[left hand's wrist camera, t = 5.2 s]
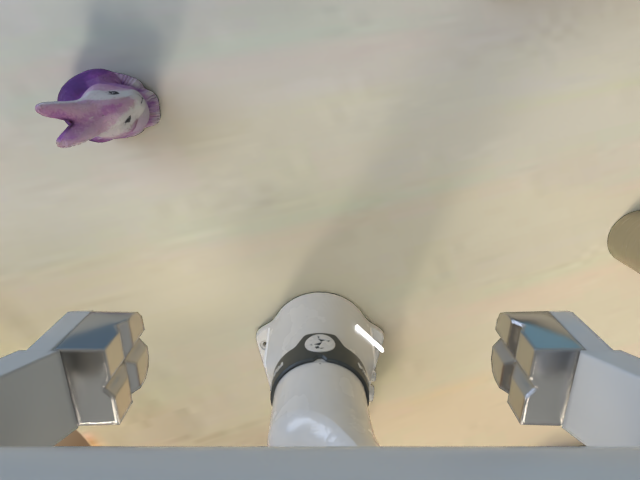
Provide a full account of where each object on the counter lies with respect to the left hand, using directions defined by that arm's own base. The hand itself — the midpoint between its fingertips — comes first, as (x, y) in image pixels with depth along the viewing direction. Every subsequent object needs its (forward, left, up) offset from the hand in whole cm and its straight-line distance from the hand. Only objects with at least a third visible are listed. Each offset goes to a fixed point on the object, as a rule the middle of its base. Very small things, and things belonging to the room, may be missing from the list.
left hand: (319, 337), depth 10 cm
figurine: (+2, +24, -48) cm, 54 cm away
